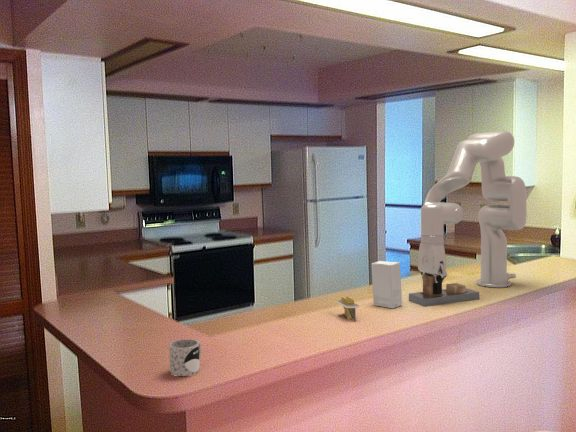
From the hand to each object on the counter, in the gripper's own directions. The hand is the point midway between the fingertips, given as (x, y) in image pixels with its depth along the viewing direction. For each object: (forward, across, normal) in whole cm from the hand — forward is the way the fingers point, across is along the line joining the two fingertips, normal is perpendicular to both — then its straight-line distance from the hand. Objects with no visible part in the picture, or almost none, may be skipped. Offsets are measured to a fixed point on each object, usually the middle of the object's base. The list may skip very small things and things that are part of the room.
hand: (432, 291), depth 183 cm
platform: (+4, +5, -36) cm, 37 cm away
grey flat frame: (+3, 0, +5) cm, 6 cm away
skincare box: (+4, -2, -17) cm, 18 cm away
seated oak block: (+3, 0, +10) cm, 10 cm away
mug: (+3, +29, -90) cm, 95 cm away
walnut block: (+2, 0, 0) cm, 2 cm away
